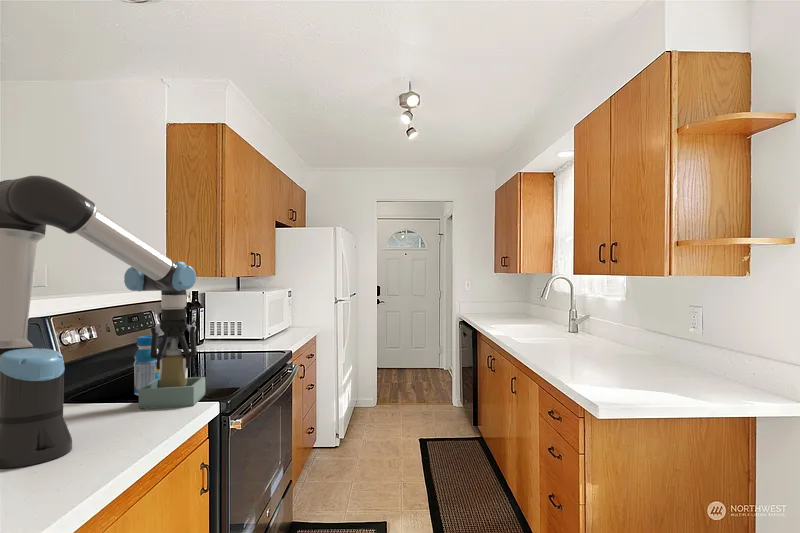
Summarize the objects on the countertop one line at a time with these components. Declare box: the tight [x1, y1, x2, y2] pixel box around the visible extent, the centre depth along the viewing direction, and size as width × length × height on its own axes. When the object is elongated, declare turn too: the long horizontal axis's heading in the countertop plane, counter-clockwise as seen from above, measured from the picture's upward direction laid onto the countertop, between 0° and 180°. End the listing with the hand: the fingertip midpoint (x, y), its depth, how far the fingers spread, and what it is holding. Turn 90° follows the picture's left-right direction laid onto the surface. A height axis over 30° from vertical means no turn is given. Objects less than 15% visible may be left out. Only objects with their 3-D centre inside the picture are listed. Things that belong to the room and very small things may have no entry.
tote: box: [138, 376, 206, 409], centre depth 156 cm, size 16×16×6 cm
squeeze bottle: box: [160, 338, 188, 388], centre depth 156 cm, size 8×8×18 cm
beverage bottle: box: [133, 335, 160, 396], centre depth 169 cm, size 8×8×20 cm
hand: (173, 378), depth 156 cm, fingers closed on squeeze bottle, 6 cm apart
